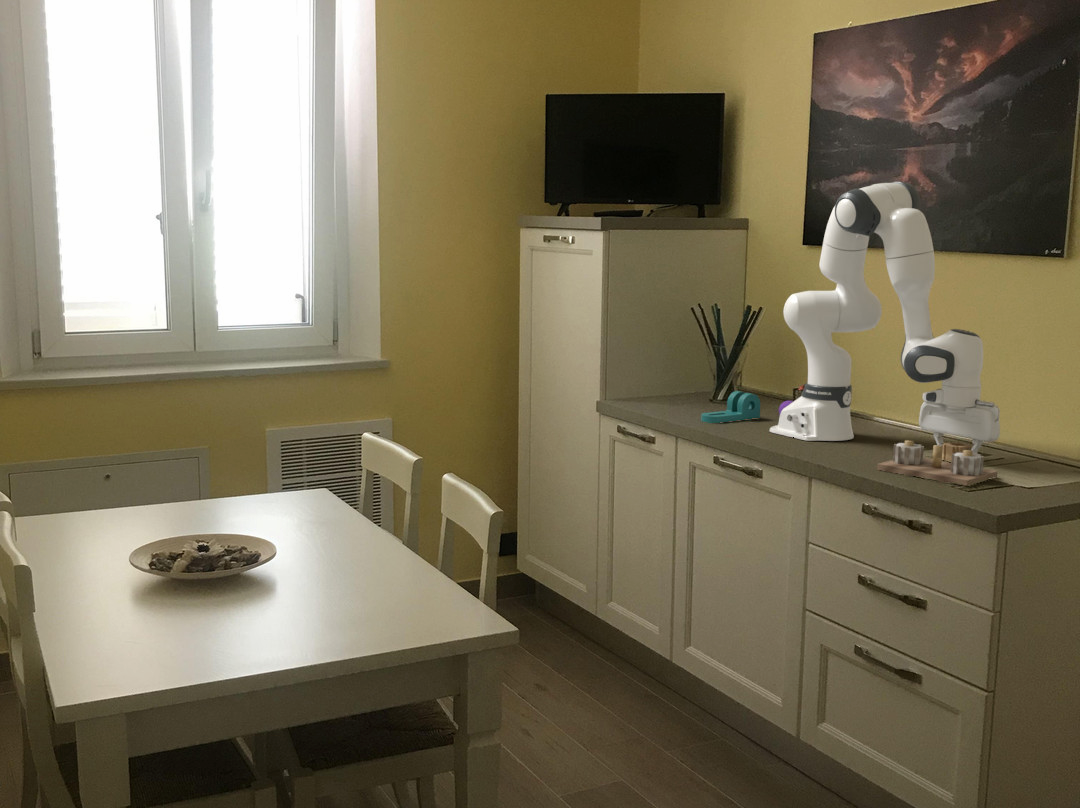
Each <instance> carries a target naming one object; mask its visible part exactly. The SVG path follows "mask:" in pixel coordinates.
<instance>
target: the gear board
mask: <svg viewBox="0 0 1080 808" xmlns="http://www.w3.org/2000/svg"><path fill="white" fill-rule="evenodd" d="M942 450H943V446H941V445H937V444H935V445H934V444H933V447H932V459H930V458H925V457H924V455H925V454H924V453H925V446H924V445H923V444H919V443H918V444H917V443H915V441H914V440H909V439H908V440H906V439H905V440H904V442H898V443H894V444H893V453H892V454H893V456H892V457H893V458H892V459H890V460H886V461H883V462H879V463H876V471H879V470H882V471H881V472H884V471H887V472H886V473H890V472H892V473H891V474H895V473H898V474H897V475H900V474H904V475H903V476H906V475H910V476H909V477H911V476H916V477H921V478H927V479H933V480H938V481H944V482H949V483H957V484H963V485H969V484H972V483H975V482H978V481H981V480H985V479H989V478H993V477H997V478H998V473H999V472H998V470H994V469H987V468H984V459H985V457H984V456H983V455H982V454H980V453H977V454H973V451H971V450H963V453H960V452H957V453H956V454H952V461H951V463H949V462H946V461H942ZM916 477H915V478H916ZM921 478H920V479H921ZM927 479H926V480H927Z"/></svg>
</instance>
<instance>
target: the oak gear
mask: <svg viewBox="0 0 1080 808" xmlns="http://www.w3.org/2000/svg"><path fill="white" fill-rule="evenodd" d="M972 447H973V445H972V444H969V443H966V442H958V441H957V442H956V441H950V442H944V444H943V451H942V460H946V461H949V462H951V461H952V454H956V453H957V452H960V453H963V450H968V449H972ZM946 461H945V462H946ZM949 462H948V463H949Z"/></svg>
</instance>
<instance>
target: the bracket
mask: <svg viewBox="0 0 1080 808" xmlns="http://www.w3.org/2000/svg"><path fill="white" fill-rule="evenodd" d="M700 415H701V416H700V422H701V421H703V422H708V423H707V424H709V423H720V422H729V421H737V420H745V419H752V418H760V419H761V400H760V397H759V396H758V395H757V394H755V393H751V392H745V391H740V390H735V391H733V392H731V393H730V394H729V396H728V398H727V401H726V410H720V411H712V412H703V413H701V414H700ZM703 422H702V423H703Z"/></svg>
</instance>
